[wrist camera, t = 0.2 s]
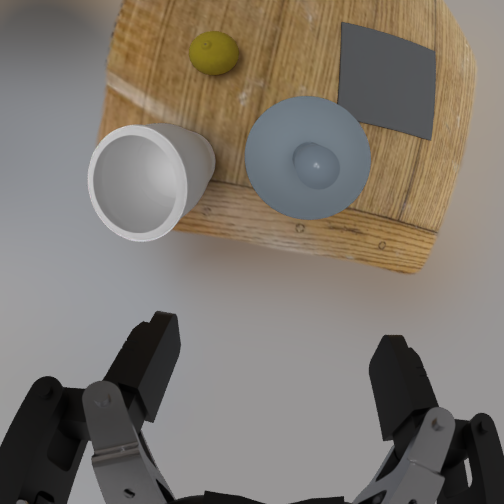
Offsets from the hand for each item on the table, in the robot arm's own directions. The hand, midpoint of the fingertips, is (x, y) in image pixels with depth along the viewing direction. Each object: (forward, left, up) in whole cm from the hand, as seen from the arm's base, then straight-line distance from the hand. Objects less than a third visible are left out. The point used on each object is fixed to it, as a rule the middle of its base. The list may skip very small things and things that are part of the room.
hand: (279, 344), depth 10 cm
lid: (-5, +2, -19) cm, 20 cm away
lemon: (-16, -9, -28) cm, 34 cm away
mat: (-17, +13, -28) cm, 35 cm away
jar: (-2, -13, -28) cm, 31 cm away
